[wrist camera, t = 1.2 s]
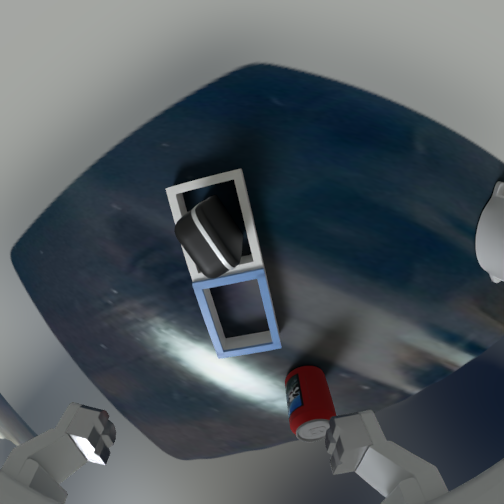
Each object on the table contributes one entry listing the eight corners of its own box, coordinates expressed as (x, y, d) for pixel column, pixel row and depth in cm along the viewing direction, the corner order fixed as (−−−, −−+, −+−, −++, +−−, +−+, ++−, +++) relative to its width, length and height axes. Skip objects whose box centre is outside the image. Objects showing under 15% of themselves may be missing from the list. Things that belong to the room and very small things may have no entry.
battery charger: (190, 208, 35) (163, 229, 24) (215, 191, 35) (197, 205, 24) (220, 252, 37) (207, 290, 26) (245, 237, 36) (241, 270, 26)
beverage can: (280, 368, 43) (286, 425, 32) (320, 357, 42) (337, 412, 31) (289, 394, 45) (296, 448, 34) (326, 384, 44) (341, 437, 33)
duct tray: (241, 168, 34) (240, 168, 30) (279, 334, 41) (281, 348, 38) (172, 186, 34) (164, 188, 31) (220, 344, 42) (218, 358, 38)
